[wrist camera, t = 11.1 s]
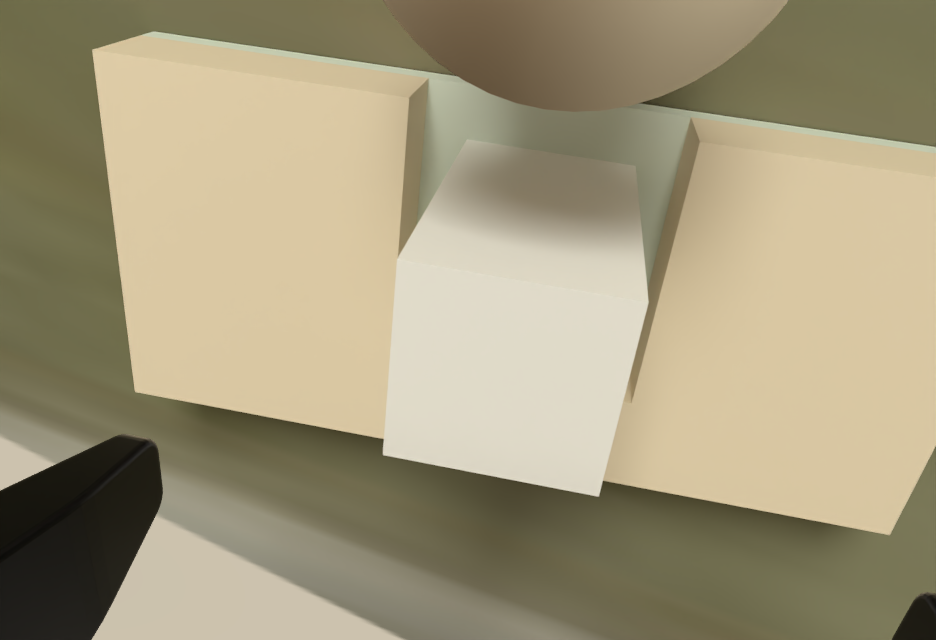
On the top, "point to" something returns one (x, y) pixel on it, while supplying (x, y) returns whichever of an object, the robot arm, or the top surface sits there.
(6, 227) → the top surface
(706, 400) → the notched board
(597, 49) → the bobbin
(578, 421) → the block
